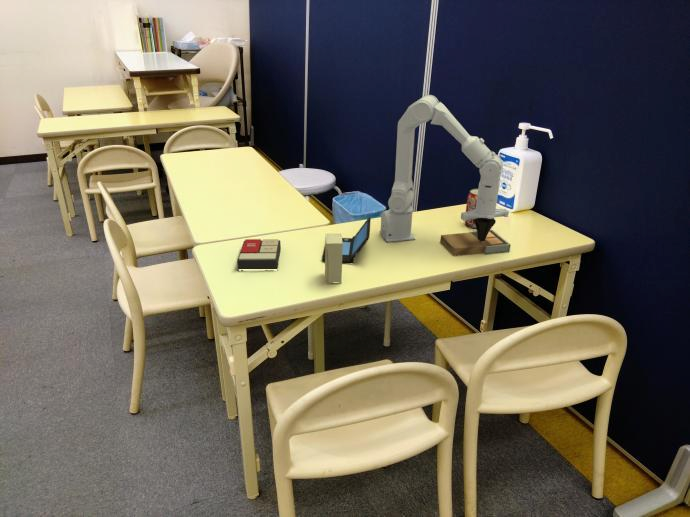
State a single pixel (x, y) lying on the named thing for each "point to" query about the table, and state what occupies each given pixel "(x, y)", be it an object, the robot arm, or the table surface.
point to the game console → (354, 243)
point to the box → (495, 248)
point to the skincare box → (333, 258)
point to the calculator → (259, 254)
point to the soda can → (471, 206)
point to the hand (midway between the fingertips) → (481, 240)
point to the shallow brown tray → (462, 244)
